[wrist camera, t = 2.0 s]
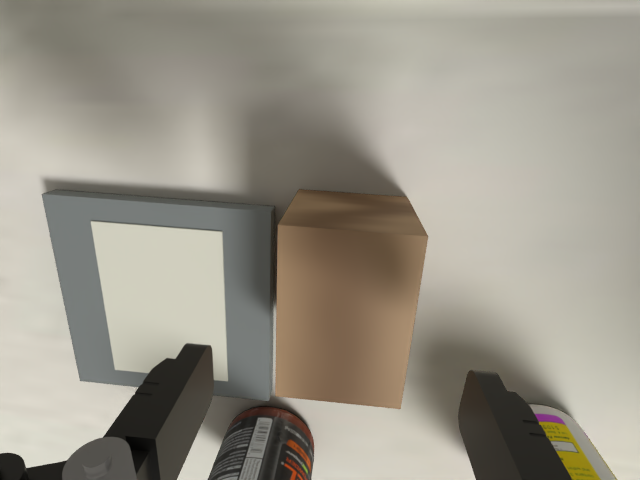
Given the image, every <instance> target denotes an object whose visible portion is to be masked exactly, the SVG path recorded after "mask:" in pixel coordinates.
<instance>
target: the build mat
mask: <svg viewBox="0 0 640 480" xmlns="http://www.w3.org/2000/svg"><path fill="white" fill-rule="evenodd" d="M42 198H43V203H44V208H45V213H46V217H47V222H48V227H49V232H50V237H51V242H52V247H53V252H54V256H55V261H56V266H57V271H58V276H59V281H60V286H61V291H62V295H63V300H64V305H65V310H66V315H67V320H68V325H69V329H70V334H71V339H72V344H73V349H74V354H75V359H76V364H77V368H78V373H79V378H80V381H86V382H95V383H104V384H114V385H123V386H133V387H139V386H140V385H141V384H143V381H144V379H145V378H146V377H147V375H148V374H149V372H150V371H151V370H152V368H154V367H155V366H156V365H158V364H159V363H161V362H162V361H163V360H165V359H166V358H172V359H176V357H177V356H178V354H179V353H180V351H181V350H182V348H183V346H184V345H185V344H186V343H193V344H203V345H211V347H212V354H213V374H214V391H213V395H217V396H226V397H236V398H245V399H254V400H264V401H269V399H270V396H271V392H272V373H273V299H274V224H275V206H263V205H250V204H237V203H224V202H211V201H198V200H184V199H171V198H158V197H145V196H132V195H119V194H106V193H93V192H79V191H66V190H53V191H50V192H47V193H44V194H42Z"/></svg>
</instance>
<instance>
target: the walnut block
mask: <svg viewBox="0 0 640 480" xmlns="http://www.w3.org/2000/svg"><path fill="white" fill-rule="evenodd" d="M427 240H428V235H427V233H426V231H425V230H424V228H423V226H422V224H421V222H420V220H419V218H418V216H417V214H416V213H415V211H414V209H413V207H412V205H411V203H410V201H409V199H408V197H401V196H387V195H373V194H359V193H345V192H331V191H316V190H302V189H299V190H298V192H297V193H296V195H295V197H294V199H293V200H292V202H291V204H290V205H289V207H288V209H287V210H286V212H285V214H284V215H283V217H282V219H281V220H280V222H279V224H278V244H277V316H276V388H275V396H279V397H288V398H298V399H308V400H318V401H327V402H337V403H347V404H357V405H366V406H376V407H386V408H396V409H401V402H402V396H403V390H404V384H405V377H406V371H407V365H408V359H409V353H410V346H411V340H412V334H413V328H414V321H415V315H416V309H417V303H418V296H419V290H420V284H421V278H422V271H423V265H424V259H425V253H426V247H427Z"/></svg>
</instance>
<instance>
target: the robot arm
mask: <svg viewBox="0 0 640 480" xmlns="http://www.w3.org/2000/svg"><path fill="white" fill-rule="evenodd" d="M213 391H214V374H213V354H212V347H211V345H203V344H193V343H186V344H185V345H184V346H183V348H182V350H181V351H180V353H179V354H178V356H177V357H176V359H172V358H166V359H165V360H163V361H162V362H161V363H159V364H158V365H156V366H155V367H154V368H152V370H151V371H150V372H149V374H148V375H147V377H146V378H145V379H144V381H143V384H141V385H140V386H139V388H138V389H137V391H136V392H135V395H133V396H132V398H131V399H130V400H129V402H128V403H127V405H126V406H125V407H124V409H123V410H122V412H121V413H120V414H119V416H118V417H117V419H116V420H115V421H114V423H113V424H112V426H111V427H110V428H109V430H108V431H107V433H106V434H105V435H104V437H103V438H99V439H96V440H93V441H91V442H89V443H87V444H85V445H83V446H82V447H81V448H79V449H78V450H77V451H75V452H74V453H73V454H72V455H71V456H70V458H69V459H68V460H67V461H63V462H58V463H53V464H47V465H42V466H36V467H31V468H26V467H25V463H24V460H23V459H22V457H20V456H19V455H16V454H13V453H2V454H0V480H177V478H178V475H179V473H180V471H181V469H182V467H183V464H184V462H185V460H186V458H187V455H188V453H189V451H190V449H191V446H192V444H193V442H194V440H195V437H196V435H197V433H198V431H199V428H200V426H201V424H202V422H203V419H204V417H205V415H206V413H207V410H208V408H209V406H210V403H211V400H212V396H213ZM458 419H459V428H460V432H461V435H462V438H463V441H464V444H465V447H466V450H467V453H468V456H469V459H470V462H471V465H472V468H473V472H474V475H475V478H476V480H572V478H571V476H570V474H569V473H568V471H567V469H566V467H565V466H564V464H563V462H562V461H561V459H560V457H559V455H558V454H557V452H556V450H555V448H554V447H553V445H552V443H551V441H550V440H549V438H547V437H546V433H545V431H544V429H543V428H542V426H541V425H539V421H538V419H537V417H536V415H535V414H534V412H533V410H532V409H531V407H530V406H529V405H528V404H527V403H526V402H525V401H524V400H523V399H522V398H521V397H520V396H519V395H518V394H517V393H516V392H508V391H507V390H506V388H505V386H504V385H503V383H502V381H501V379H500V377H499V375H498V374H497V373H494V372H483V371H472V370H471V371H469V372H468V375H467V378H466V382H465V386H464V391H463V395H462V399H461V403H460V407H459V414H458Z"/></svg>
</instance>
